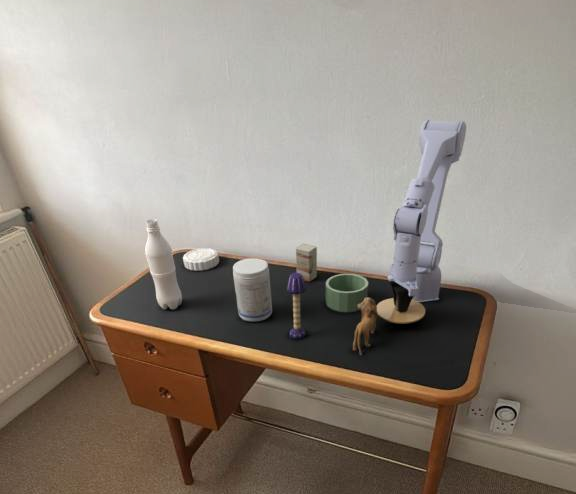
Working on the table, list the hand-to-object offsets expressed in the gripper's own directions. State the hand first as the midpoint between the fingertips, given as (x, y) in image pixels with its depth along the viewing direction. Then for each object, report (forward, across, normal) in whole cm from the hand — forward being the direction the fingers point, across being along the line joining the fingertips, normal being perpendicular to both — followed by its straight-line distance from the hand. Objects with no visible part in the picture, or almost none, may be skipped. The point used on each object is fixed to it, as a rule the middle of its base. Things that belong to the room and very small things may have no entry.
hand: (400, 308), depth 120 cm
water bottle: (+4, -24, -61) cm, 66 cm away
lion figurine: (+4, +6, -11) cm, 14 cm away
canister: (+4, -13, -11) cm, 18 cm away
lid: (+1, 0, 0) cm, 1 cm away
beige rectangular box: (+4, -32, -19) cm, 37 cm away
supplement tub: (+4, -13, -37) cm, 40 cm away
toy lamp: (+4, 0, -27) cm, 27 cm away
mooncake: (+4, -52, -52) cm, 74 cm away
